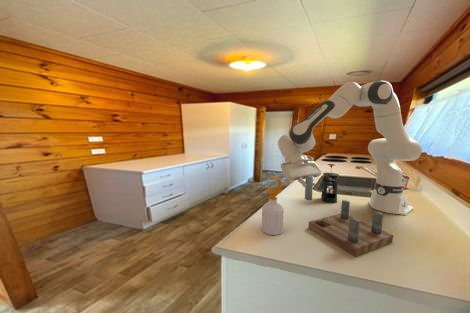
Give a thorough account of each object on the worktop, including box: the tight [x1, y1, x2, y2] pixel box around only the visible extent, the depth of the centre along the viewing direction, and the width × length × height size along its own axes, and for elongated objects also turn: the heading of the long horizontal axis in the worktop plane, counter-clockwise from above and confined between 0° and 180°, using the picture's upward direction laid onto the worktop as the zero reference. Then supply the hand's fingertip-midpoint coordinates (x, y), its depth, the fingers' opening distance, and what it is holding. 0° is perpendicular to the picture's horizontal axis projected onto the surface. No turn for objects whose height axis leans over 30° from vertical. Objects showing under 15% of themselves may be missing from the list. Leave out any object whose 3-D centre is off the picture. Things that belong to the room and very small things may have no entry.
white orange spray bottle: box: [261, 174, 285, 236], centre depth 85 cm, size 9×9×25 cm
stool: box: [308, 199, 394, 257], centre depth 82 cm, size 22×22×11 cm
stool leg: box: [304, 176, 313, 201], centre depth 92 cm, size 3×3×11 cm
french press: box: [320, 163, 340, 204], centre depth 121 cm, size 12×9×23 cm
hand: (310, 185), depth 91 cm, fingers closed on stool leg, 3 cm apart
